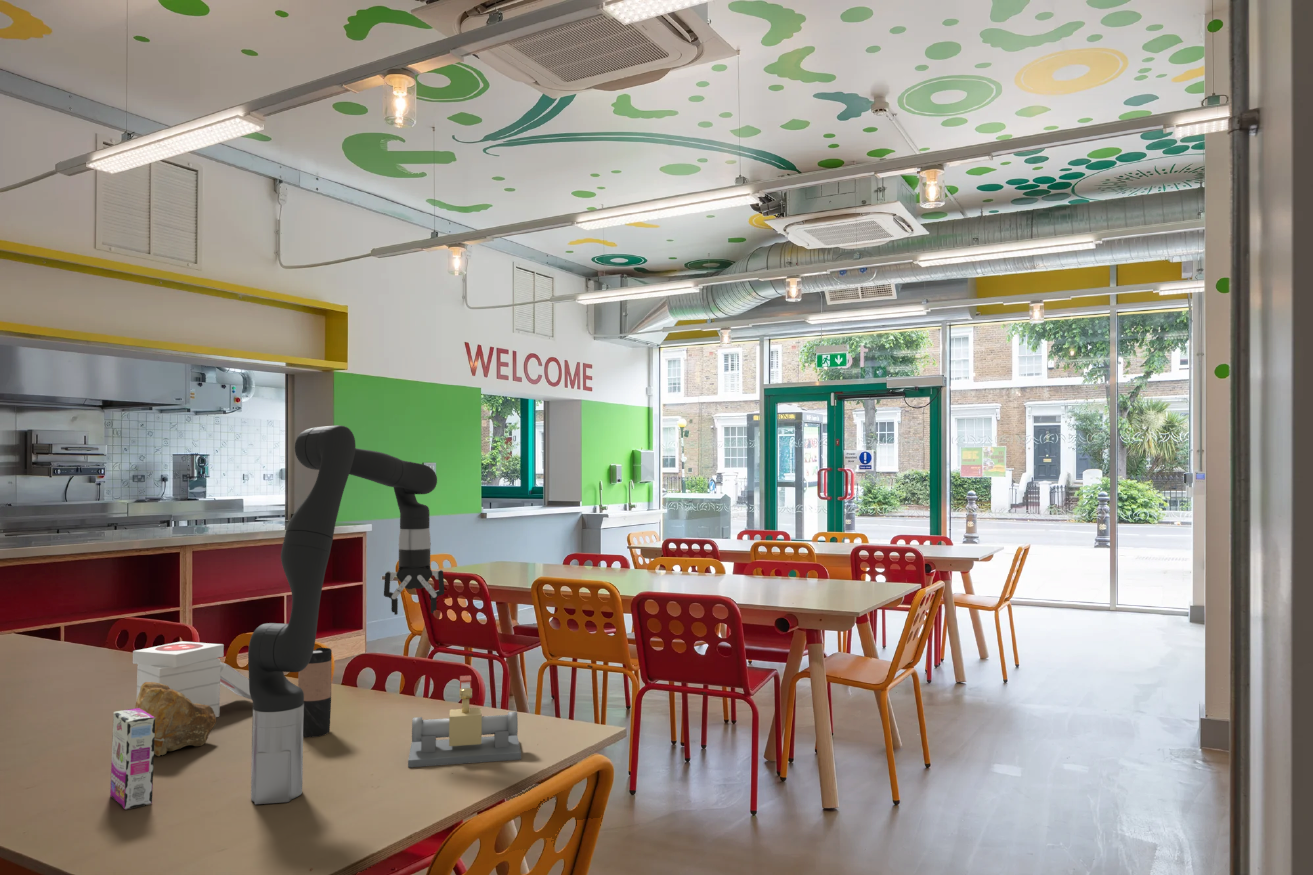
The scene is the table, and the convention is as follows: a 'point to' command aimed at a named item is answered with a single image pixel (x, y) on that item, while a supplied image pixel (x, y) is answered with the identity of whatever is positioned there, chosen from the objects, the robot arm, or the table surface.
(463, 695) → the lever
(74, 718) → the table surface
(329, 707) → the travel mug
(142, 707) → the rough brown rock
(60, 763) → the table surface
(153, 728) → the candy bar box
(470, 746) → the valve stand
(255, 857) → the table surface
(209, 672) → the pizza boxes
